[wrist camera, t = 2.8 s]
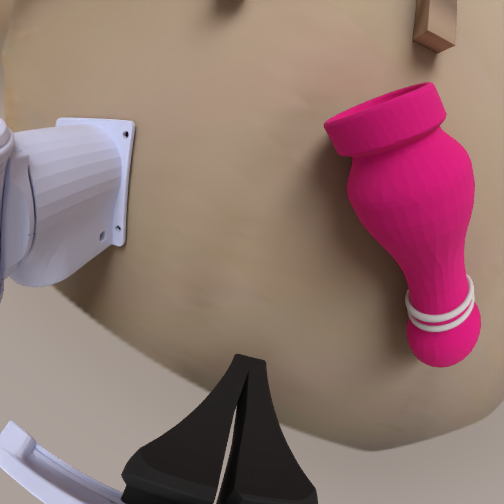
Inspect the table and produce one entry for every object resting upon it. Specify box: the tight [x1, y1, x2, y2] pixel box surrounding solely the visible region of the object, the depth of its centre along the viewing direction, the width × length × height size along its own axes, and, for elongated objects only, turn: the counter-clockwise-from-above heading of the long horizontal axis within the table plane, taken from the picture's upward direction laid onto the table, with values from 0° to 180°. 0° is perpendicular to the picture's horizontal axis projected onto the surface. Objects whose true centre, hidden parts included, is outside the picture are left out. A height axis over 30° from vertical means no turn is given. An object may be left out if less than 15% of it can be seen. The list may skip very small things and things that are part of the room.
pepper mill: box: [324, 82, 481, 368], centre depth 15 cm, size 7×7×20 cm
